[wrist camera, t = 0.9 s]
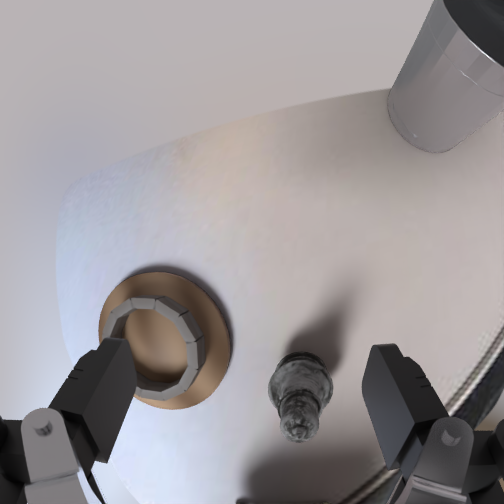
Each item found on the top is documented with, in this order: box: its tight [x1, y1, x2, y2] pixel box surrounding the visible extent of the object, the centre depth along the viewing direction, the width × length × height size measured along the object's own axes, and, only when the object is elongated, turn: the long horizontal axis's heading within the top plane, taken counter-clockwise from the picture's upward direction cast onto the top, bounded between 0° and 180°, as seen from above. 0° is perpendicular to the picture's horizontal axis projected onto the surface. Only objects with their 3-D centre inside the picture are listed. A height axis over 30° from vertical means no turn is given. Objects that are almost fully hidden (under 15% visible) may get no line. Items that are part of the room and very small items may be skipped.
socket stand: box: [98, 272, 230, 410], centre depth 31 cm, size 15×15×4 cm
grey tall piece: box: [268, 352, 333, 443], centre depth 25 cm, size 6×6×12 cm
